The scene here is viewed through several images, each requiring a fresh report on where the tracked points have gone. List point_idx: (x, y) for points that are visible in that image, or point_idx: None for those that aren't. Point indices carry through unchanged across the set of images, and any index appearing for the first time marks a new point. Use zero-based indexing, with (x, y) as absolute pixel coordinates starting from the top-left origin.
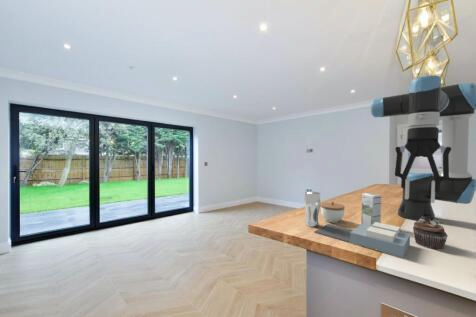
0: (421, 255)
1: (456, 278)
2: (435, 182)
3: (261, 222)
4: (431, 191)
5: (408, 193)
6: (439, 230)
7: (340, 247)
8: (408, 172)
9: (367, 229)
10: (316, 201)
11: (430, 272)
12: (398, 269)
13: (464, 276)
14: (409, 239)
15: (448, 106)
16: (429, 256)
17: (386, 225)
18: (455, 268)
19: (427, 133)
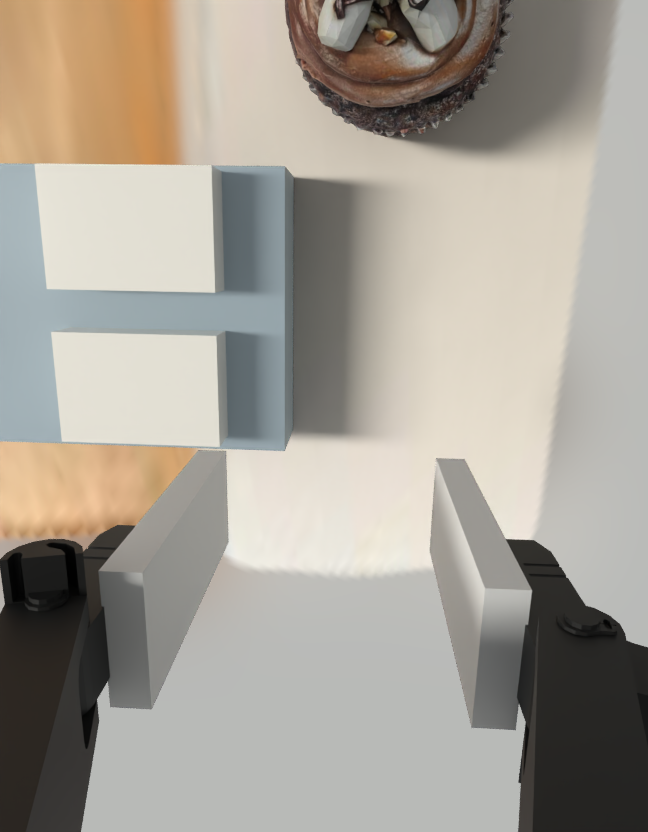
0: (363, 311)
1: (495, 486)
2: (520, 689)
3: None
4: (449, 625)
5: (212, 523)
6: (465, 72)
7: (24, 519)
8: (77, 744)
9: (62, 420)
10: None
11: (405, 502)
12: (294, 568)
13: (527, 438)
14: (288, 195)
15: None
16: (399, 293)
17: (124, 205)
18: (503, 369)
19: None
